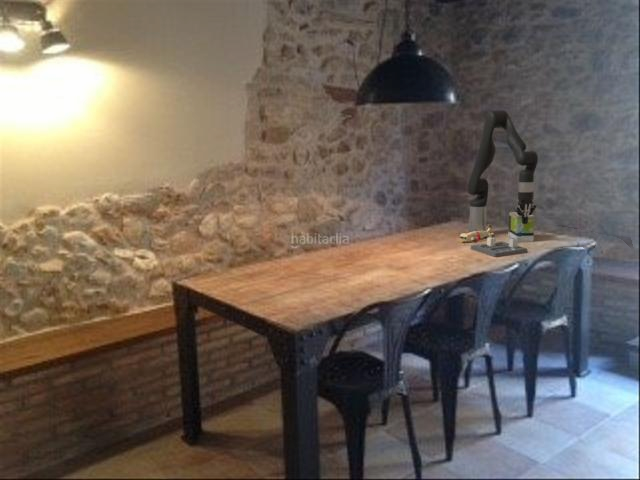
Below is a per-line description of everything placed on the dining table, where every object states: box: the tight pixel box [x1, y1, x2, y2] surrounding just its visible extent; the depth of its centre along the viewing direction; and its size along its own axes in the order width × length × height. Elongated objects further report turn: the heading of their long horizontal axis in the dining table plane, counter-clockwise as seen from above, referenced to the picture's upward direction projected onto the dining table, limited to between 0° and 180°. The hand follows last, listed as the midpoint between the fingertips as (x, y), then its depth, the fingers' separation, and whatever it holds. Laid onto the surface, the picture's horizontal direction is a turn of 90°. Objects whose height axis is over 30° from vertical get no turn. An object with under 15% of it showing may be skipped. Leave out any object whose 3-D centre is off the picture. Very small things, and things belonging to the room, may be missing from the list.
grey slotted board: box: [470, 241, 528, 258], centre depth 302 cm, size 20×20×2 cm
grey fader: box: [508, 238, 519, 247], centre depth 299 cm, size 3×3×5 cm
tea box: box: [507, 211, 536, 243], centre depth 325 cm, size 15×10×15 cm, turn 179°
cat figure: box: [458, 223, 496, 243], centre depth 329 cm, size 10×9×25 cm
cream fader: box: [486, 236, 496, 246], centre depth 304 cm, size 3×3×5 cm
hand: (524, 223), depth 300 cm, fingers closed
